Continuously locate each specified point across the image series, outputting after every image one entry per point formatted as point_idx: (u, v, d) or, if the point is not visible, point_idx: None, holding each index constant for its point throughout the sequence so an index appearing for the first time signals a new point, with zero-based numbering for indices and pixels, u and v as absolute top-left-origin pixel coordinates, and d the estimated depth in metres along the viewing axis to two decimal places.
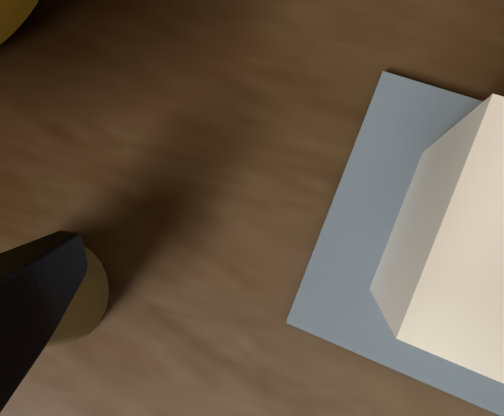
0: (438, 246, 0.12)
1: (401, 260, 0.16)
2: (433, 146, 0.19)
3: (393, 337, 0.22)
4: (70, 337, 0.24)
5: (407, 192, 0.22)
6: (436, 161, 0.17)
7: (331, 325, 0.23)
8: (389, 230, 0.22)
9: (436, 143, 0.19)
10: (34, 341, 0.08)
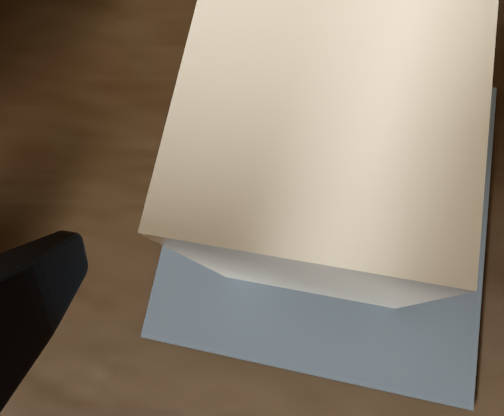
0: (172, 121, 0.11)
1: None
2: None
3: (260, 326, 0.19)
4: None
5: None
6: None
7: (191, 328, 0.19)
8: None
9: None
10: (34, 341, 0.08)
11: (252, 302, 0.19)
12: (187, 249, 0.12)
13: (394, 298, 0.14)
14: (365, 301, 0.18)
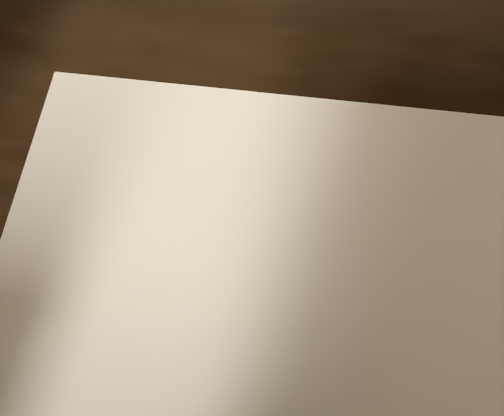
0: None
1: None
2: None
3: None
4: None
5: None
6: None
7: None
8: None
9: None
10: None
11: None
12: None
13: None
14: None
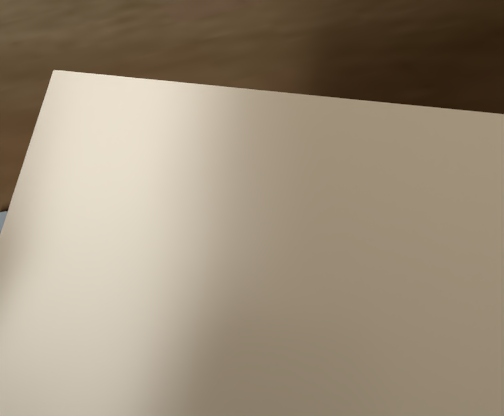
0: None
1: None
2: None
3: None
4: None
5: None
6: None
7: None
8: None
9: None
10: None
11: None
12: None
13: None
14: None
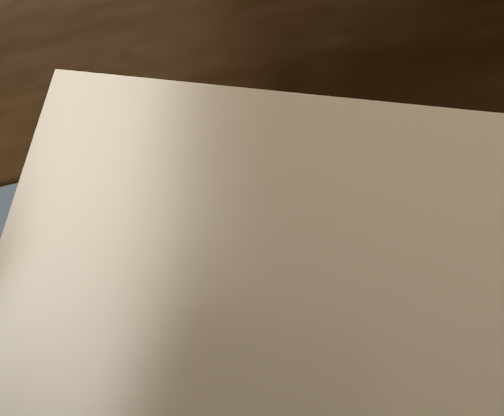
0: None
1: None
2: None
3: None
4: None
5: None
6: None
7: None
8: None
9: None
10: None
11: None
12: None
13: None
14: None
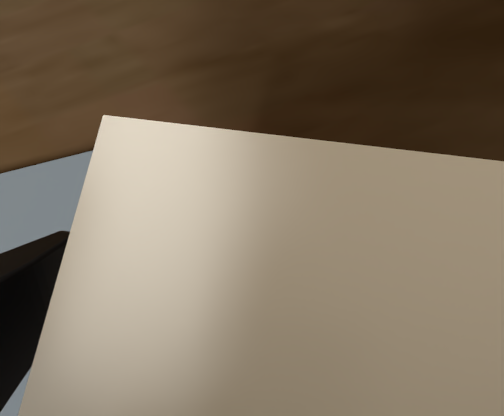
0: (39, 376, 0.07)
1: None
2: None
3: None
4: None
5: None
6: None
7: None
8: None
9: None
10: (34, 341, 0.08)
11: None
12: None
13: None
14: None
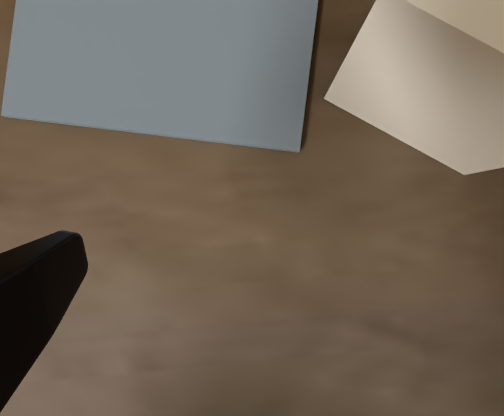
0: None
1: None
2: None
3: (115, 97, 0.20)
4: None
5: None
6: None
7: (49, 103, 0.20)
8: None
9: None
10: (34, 341, 0.08)
11: (106, 75, 0.20)
12: (390, 31, 0.12)
13: None
14: (447, 158, 0.19)
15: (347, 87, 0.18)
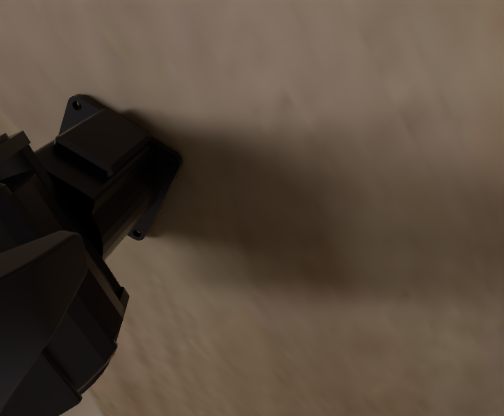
0: None
1: None
2: None
3: None
4: None
5: None
6: None
7: None
8: None
9: None
10: (34, 341, 0.08)
11: None
12: None
13: None
14: None
15: None
